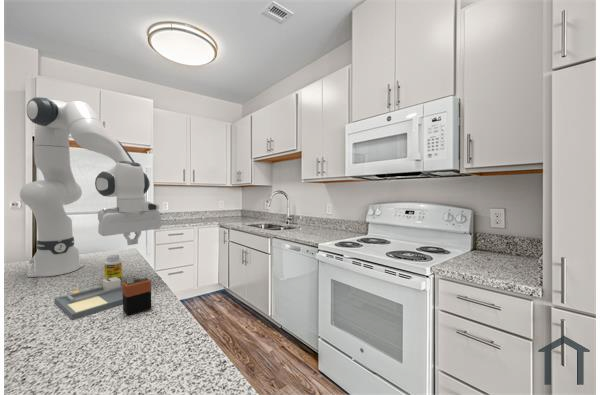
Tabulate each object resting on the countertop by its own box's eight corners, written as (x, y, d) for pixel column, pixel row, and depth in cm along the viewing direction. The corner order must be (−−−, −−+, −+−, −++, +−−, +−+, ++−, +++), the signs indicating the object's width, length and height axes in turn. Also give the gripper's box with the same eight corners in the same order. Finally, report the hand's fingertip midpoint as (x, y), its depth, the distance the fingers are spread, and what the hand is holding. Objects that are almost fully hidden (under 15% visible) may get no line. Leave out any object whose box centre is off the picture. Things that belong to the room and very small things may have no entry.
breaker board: (54, 302, 91) (54, 294, 91) (117, 286, 105) (117, 278, 105) (72, 319, 80) (72, 310, 80) (139, 298, 95) (139, 290, 94)
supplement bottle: (104, 285, 106) (104, 258, 105) (105, 280, 111) (104, 255, 110) (122, 282, 109) (121, 256, 108) (122, 278, 114) (121, 253, 113)
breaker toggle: (103, 289, 98) (102, 279, 98) (116, 286, 101) (115, 276, 101) (107, 292, 95) (107, 282, 95) (120, 289, 99) (120, 278, 98)
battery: (151, 308, 88) (151, 277, 87) (127, 316, 83) (126, 283, 82) (146, 304, 91) (146, 273, 90) (122, 311, 86) (121, 279, 85)
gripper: (101, 209, 92) (102, 251, 93) (163, 204, 108) (164, 240, 109) (94, 208, 95) (95, 248, 96) (155, 204, 112) (156, 238, 113)
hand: (132, 244), depth 103 cm, fingers closed
